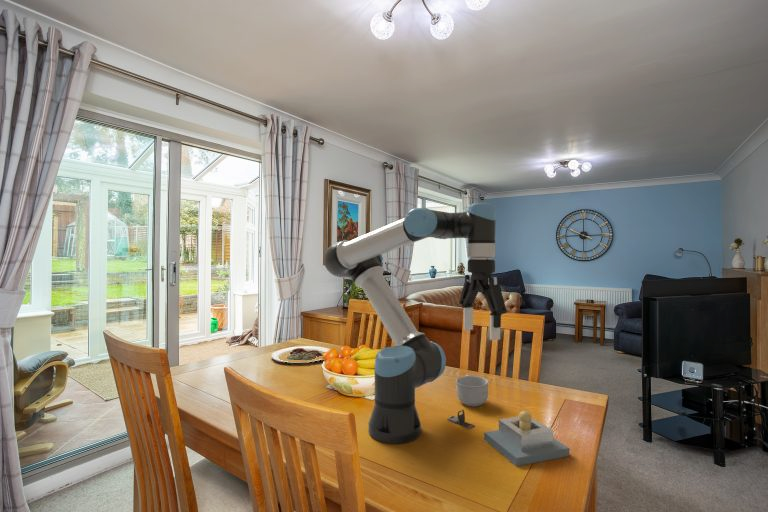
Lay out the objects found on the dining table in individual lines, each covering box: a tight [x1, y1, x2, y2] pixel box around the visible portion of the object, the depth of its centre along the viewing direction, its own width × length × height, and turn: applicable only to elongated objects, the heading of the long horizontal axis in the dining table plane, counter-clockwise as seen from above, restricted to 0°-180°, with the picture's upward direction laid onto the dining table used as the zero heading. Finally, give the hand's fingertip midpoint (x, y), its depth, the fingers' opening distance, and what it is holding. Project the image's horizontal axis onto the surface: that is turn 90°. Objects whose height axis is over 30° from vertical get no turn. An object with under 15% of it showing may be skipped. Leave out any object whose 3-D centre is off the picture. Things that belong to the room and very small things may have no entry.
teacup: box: [455, 374, 489, 407], centre depth 133 cm, size 14×11×8 cm
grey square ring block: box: [498, 416, 554, 452], centre depth 101 cm, size 10×10×4 cm
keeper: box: [483, 410, 570, 467], centre depth 101 cm, size 16×14×10 cm
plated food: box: [271, 345, 331, 364], centre depth 189 cm, size 30×30×3 cm
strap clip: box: [447, 409, 476, 430], centre depth 116 cm, size 8×3×4 cm, turn 42°
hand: (480, 334), depth 107 cm, fingers open, 13 cm apart
